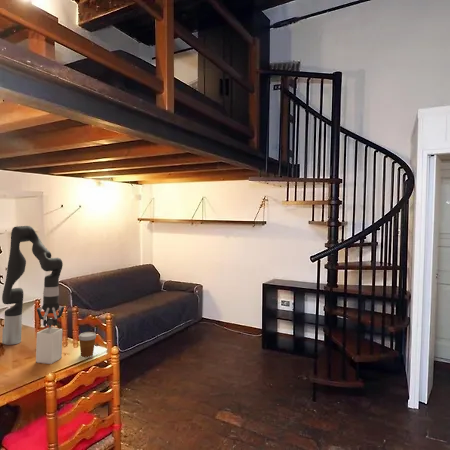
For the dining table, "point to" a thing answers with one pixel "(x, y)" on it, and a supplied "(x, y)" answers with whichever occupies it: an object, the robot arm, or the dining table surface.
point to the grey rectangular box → (49, 346)
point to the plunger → (50, 323)
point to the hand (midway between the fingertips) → (50, 325)
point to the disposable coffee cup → (87, 343)
